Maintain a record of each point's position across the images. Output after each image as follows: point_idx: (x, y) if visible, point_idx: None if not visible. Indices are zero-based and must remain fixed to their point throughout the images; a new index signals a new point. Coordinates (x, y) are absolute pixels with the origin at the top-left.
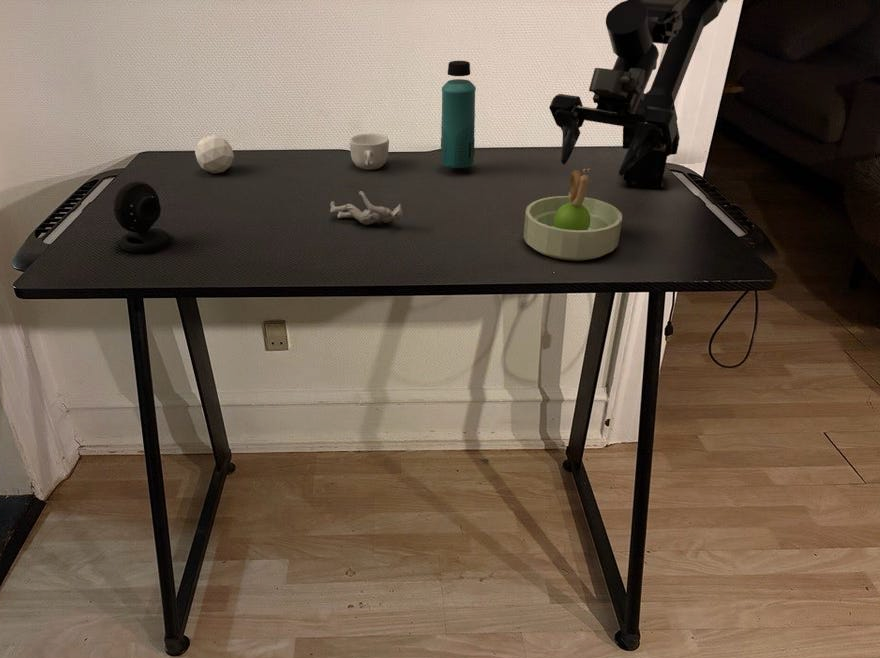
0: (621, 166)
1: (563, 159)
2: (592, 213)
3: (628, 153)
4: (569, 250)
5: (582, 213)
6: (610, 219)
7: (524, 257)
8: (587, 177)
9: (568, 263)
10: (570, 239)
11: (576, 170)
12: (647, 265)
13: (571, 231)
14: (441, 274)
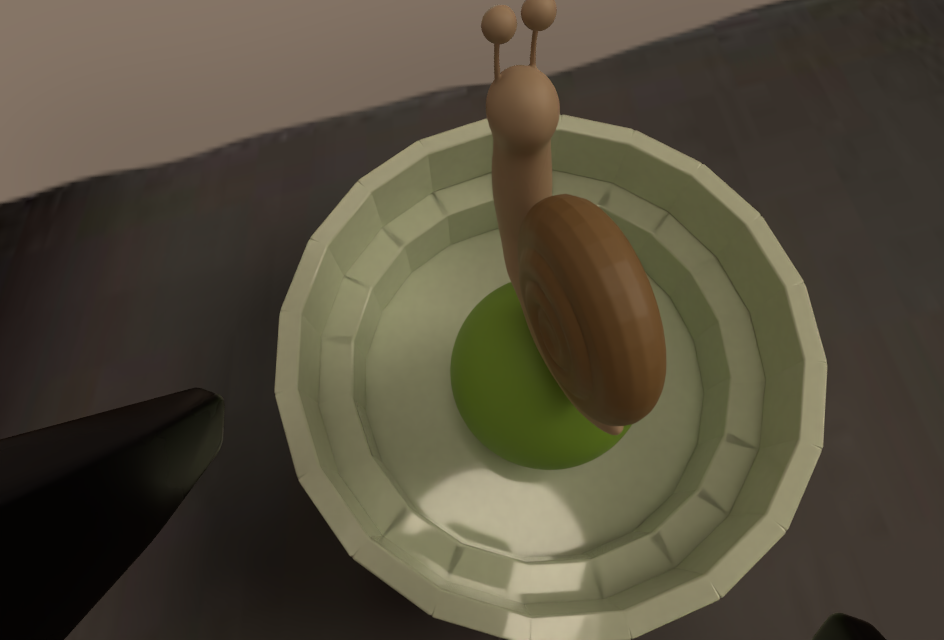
0: (176, 406)
1: (853, 620)
2: (448, 570)
3: (3, 473)
4: None
5: (496, 300)
6: (344, 481)
7: None
8: (501, 76)
9: None
10: None
11: (625, 271)
12: (216, 258)
13: None
14: (898, 35)
